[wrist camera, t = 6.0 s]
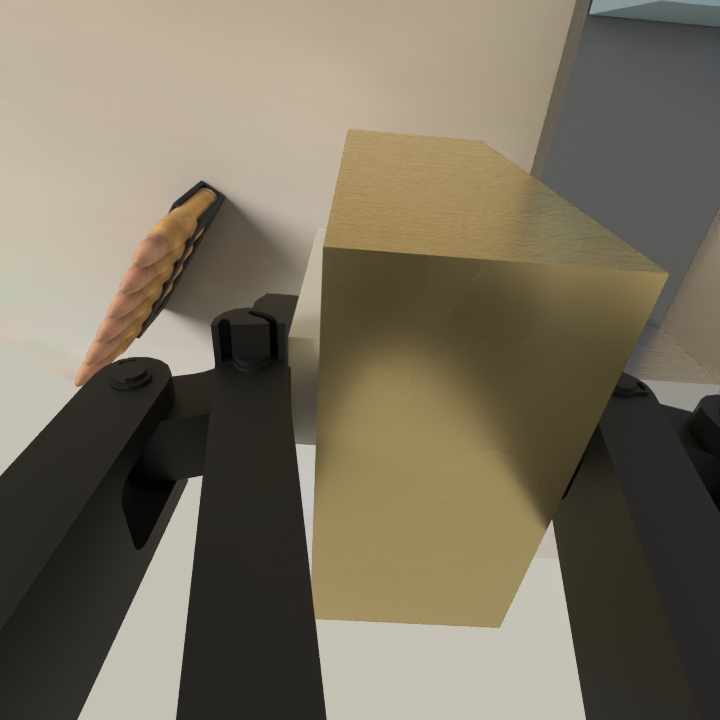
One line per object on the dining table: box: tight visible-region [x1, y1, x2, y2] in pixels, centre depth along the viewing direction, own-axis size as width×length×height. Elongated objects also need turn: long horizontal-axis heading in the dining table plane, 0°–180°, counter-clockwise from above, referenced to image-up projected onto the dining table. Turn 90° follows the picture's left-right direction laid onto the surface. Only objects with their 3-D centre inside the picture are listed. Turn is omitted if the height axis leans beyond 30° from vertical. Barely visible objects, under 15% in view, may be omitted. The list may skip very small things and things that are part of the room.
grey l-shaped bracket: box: [530, 0, 720, 412], centre depth 26 cm, size 26×12×9 cm, turn 176°
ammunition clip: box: [75, 181, 224, 387], centre depth 29 cm, size 11×2×12 cm, turn 144°
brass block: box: [311, 129, 669, 628], centre depth 12 cm, size 8×4×10 cm, turn 176°
